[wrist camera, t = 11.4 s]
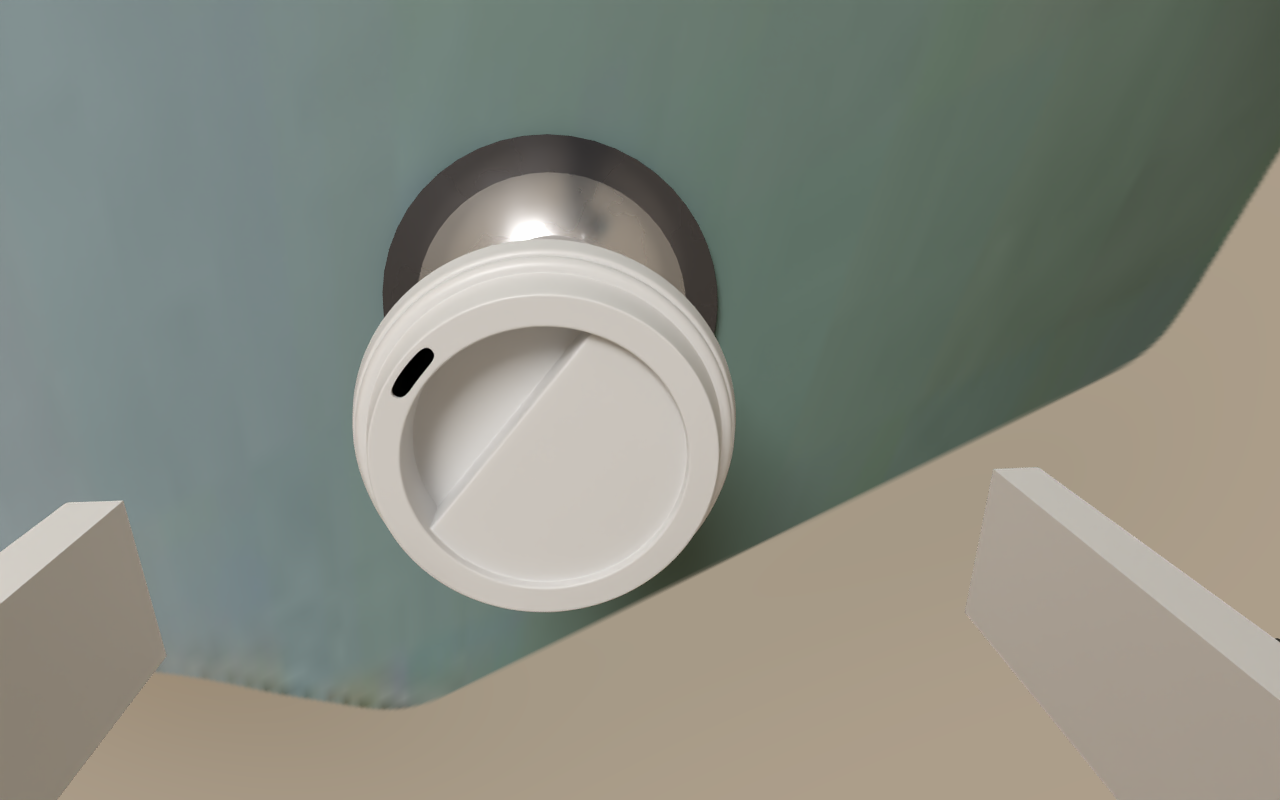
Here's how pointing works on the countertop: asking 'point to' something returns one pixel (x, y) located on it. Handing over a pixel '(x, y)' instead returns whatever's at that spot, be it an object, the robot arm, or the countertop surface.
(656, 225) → the plate
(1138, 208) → the countertop surface
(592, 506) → the coffee cup
